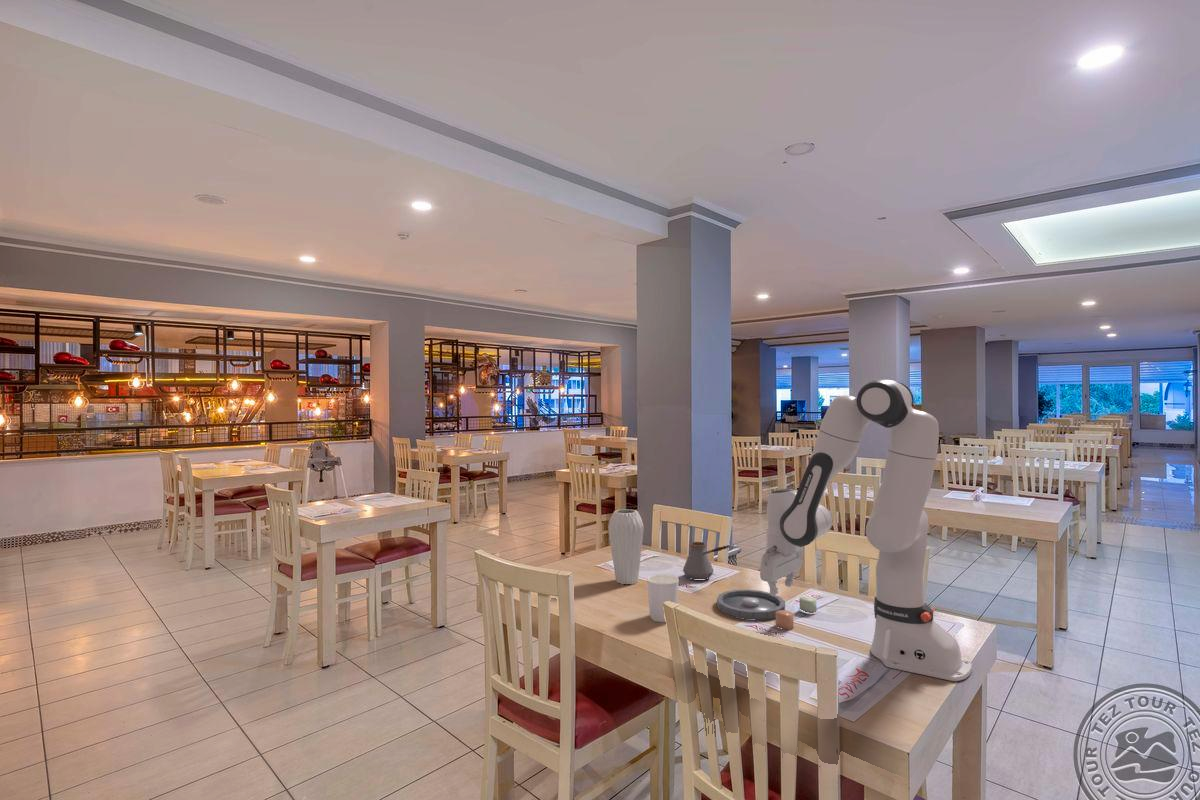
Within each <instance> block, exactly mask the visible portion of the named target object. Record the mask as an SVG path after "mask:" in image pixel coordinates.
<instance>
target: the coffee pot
mask: <svg viewBox="0 0 1200 800" xmlns="http://www.w3.org/2000/svg"><path fill="white" fill-rule="evenodd" d="M706 546H707V543H706V542H702V541H692V542H689V547H690V551H689V554H688V556H687V559H686V560H685V564H684V566H683V568H682V571H683V573H684V575H685V576H686V577H687V578H688V577H689V578H692V579H707V578H708V579H709V578H710V577H712V576H713V574H714V567H713V566H712V563H711V561H710V559H709V556H708V554H710V553H714V552H720V551H722V550H727V551H728V552H730V551H733V548H732V546H731V545H728V544H727V545H723V546H719V547H716V548H714V549H711V550H706ZM729 548H730V550H729ZM689 578H688V579H689ZM708 579H707V580H708Z"/></svg>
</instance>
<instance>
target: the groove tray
mask: <svg viewBox="0 0 1200 800" xmlns="http://www.w3.org/2000/svg"><path fill="white" fill-rule="evenodd" d="M716 605H717V609H718V611H720V612H721V613H723V614H724V615H726V614H727V615H726V616H729V615H730V616H729V617H732V616H733V617H732V618H735V617H738V618H737V619H739V618H744V619H743V620H745V619H755V620H754V621H770V620H774V619H775V620H776V613H775V612H776V611H779V610H786V601H785V600H784V599H783V598H782V597H781V596H779V595H777V594H775V595H773V594H771V593H770V592H767V591H764V590H759V589H758V590H757V589H756V590H755V589H748V588H747V589H732V590H727V591H724V592H722V593H719V594H718V595H717V598H716Z"/></svg>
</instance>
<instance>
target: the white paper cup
mask: <svg viewBox="0 0 1200 800" xmlns="http://www.w3.org/2000/svg"><path fill="white" fill-rule="evenodd" d="M679 580H680V579H679V577H677V576H675V575H672V574H666V573H665V574H664V573H661V574H660V573H659V574H653V575H649V576H648V577H647V579H646V581H647V595H648V606H649V607H648V608H649V616H650V619H651V620H652V621H654V622H657V621H658V622H657V623H666V622H665V619H664V610H663V602H665V601H671V602H674V603H677V604H679V585H680V584H679V582H680V581H679Z"/></svg>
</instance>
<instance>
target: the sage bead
mask: <svg viewBox="0 0 1200 800" xmlns="http://www.w3.org/2000/svg"><path fill="white" fill-rule="evenodd" d="M798 600H799V610H800V609H801V610H803V611H805V612H809V613H814V612H816V611H817V610H818V609H817V598H815V597H811V596H801V597H799V599H798Z"/></svg>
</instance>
